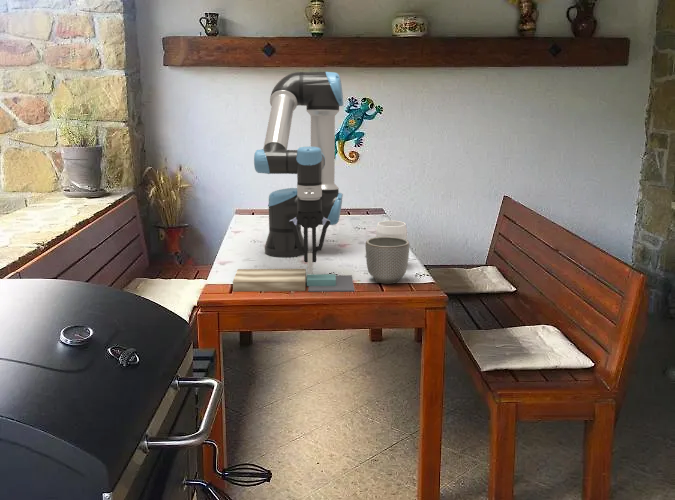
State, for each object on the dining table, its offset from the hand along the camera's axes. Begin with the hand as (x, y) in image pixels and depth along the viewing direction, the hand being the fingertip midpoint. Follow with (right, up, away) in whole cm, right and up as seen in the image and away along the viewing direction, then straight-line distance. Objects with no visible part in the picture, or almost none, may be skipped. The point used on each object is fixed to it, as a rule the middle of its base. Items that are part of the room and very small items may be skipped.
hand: (310, 272), depth 225 cm
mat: (+7, -4, +1) cm, 8 cm away
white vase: (+27, +1, +21) cm, 34 cm away
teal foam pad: (+4, -3, +1) cm, 5 cm away
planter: (+24, -3, +5) cm, 25 cm away
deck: (-12, -4, +1) cm, 13 cm away
